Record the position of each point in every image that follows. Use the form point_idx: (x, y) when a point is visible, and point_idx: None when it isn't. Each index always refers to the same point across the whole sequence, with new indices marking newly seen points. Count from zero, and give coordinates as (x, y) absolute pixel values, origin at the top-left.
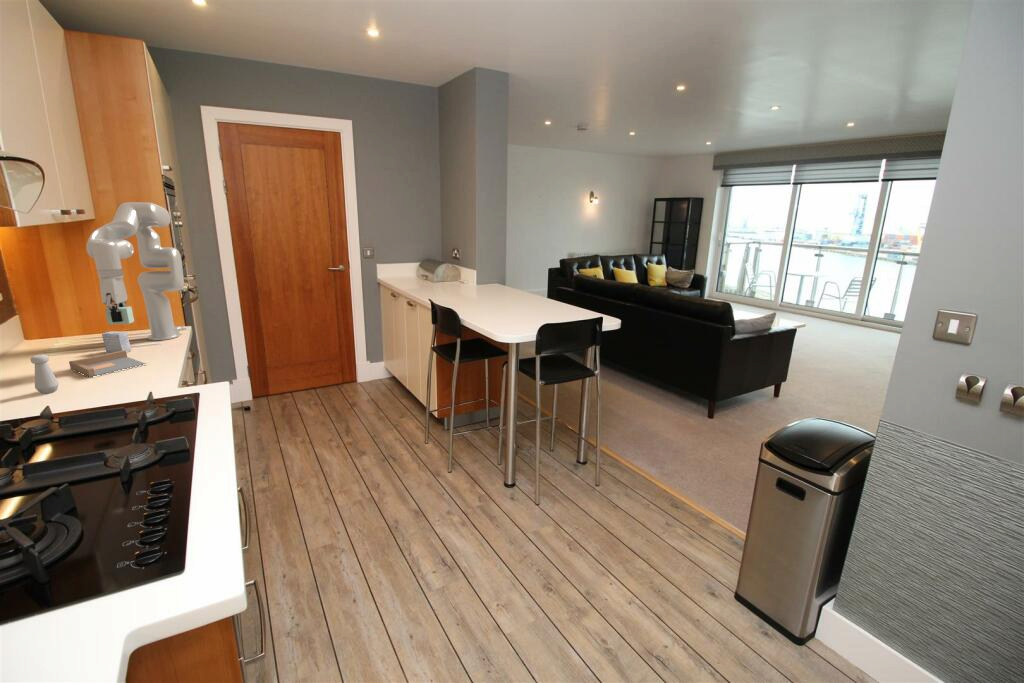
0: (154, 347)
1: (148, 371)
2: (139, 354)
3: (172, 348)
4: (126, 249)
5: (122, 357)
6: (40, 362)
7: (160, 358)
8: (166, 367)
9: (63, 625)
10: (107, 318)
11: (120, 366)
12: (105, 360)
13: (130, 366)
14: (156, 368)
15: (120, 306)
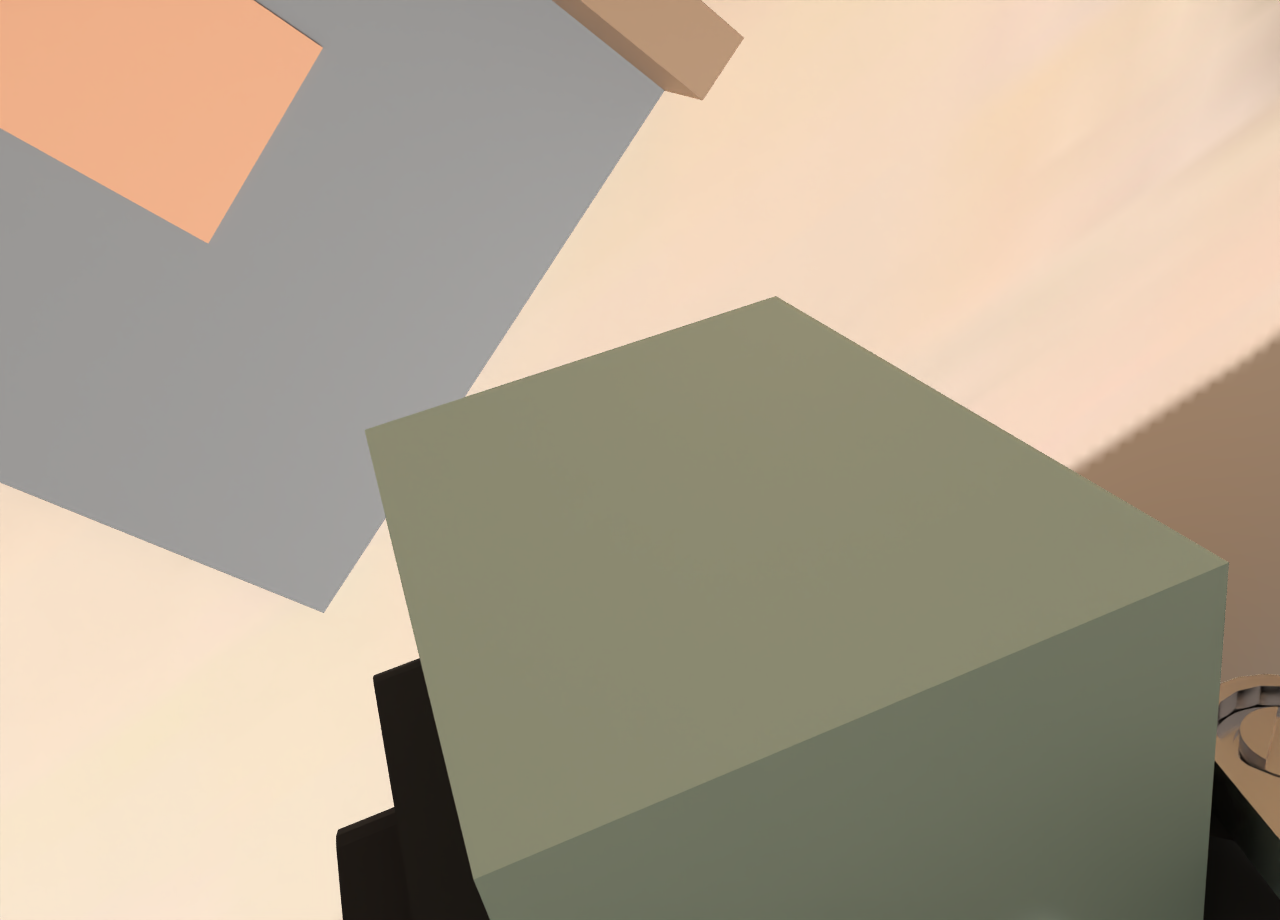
0: (1158, 112)
1: (49, 826)
2: (841, 135)
3: (1051, 395)
4: None
5: (613, 50)
6: None
7: None
8: (243, 891)
9: None
10: (403, 566)
11: (144, 367)
12: None
13: (165, 513)
14: (189, 820)
15: (1273, 907)
